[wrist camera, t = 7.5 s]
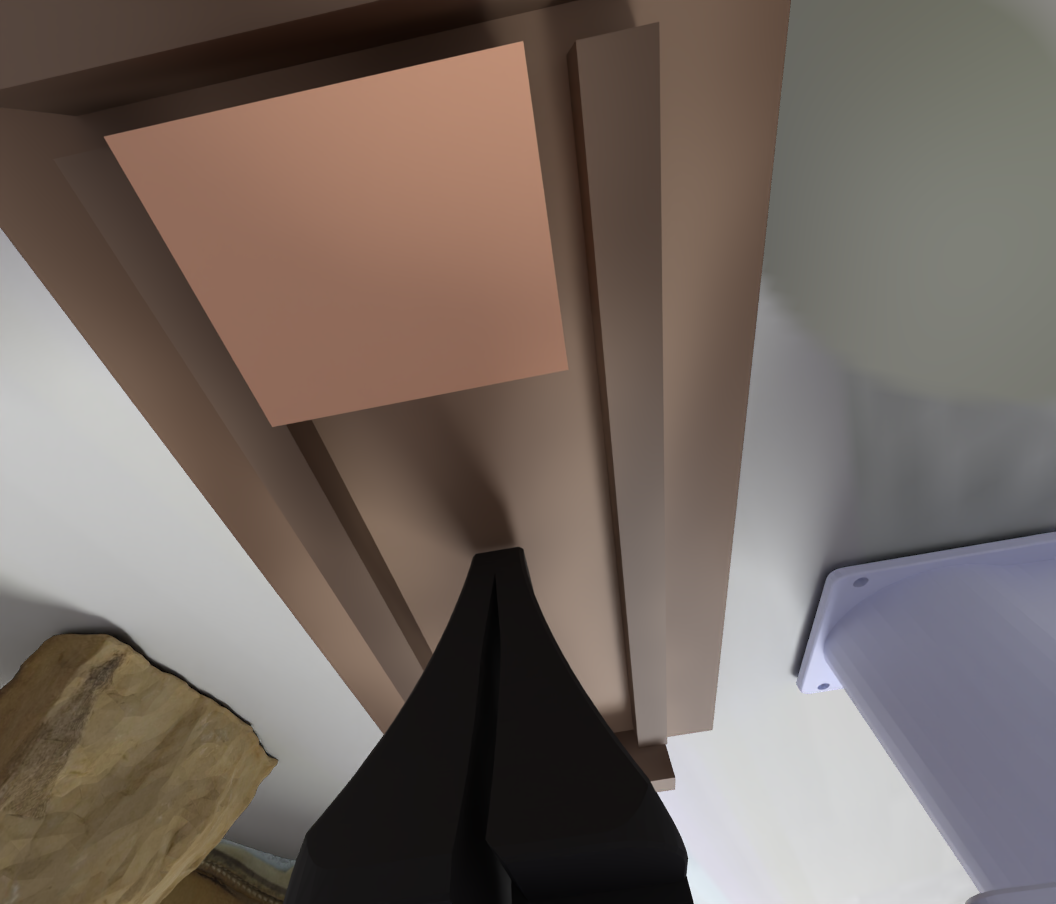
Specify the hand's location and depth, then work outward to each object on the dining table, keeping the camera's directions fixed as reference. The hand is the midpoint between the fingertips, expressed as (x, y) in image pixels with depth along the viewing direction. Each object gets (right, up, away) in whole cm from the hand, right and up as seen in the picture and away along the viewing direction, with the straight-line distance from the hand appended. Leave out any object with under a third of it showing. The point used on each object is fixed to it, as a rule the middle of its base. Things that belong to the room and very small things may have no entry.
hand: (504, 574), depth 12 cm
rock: (-14, -7, +6) cm, 17 cm away
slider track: (0, +1, +2) cm, 2 cm away
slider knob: (-2, +7, -4) cm, 9 cm away
